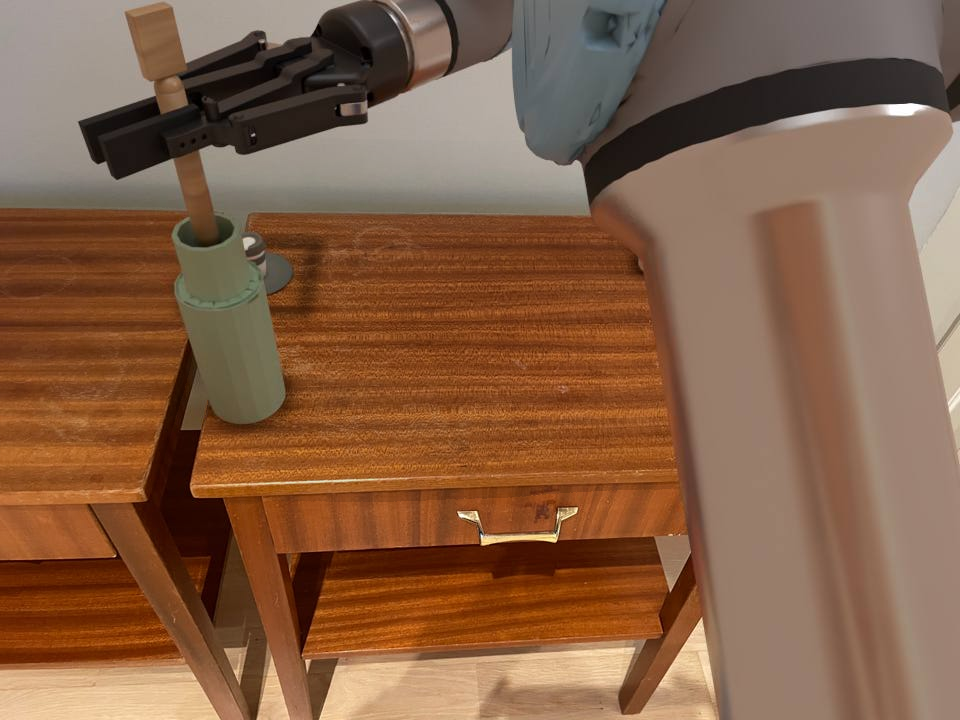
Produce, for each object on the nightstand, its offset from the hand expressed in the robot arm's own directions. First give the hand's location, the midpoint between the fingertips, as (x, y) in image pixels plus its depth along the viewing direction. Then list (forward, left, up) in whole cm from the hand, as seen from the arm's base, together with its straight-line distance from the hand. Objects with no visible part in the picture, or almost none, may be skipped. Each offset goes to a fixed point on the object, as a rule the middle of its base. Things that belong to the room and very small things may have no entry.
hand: (98, 150), depth 46 cm
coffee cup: (+19, +10, -28) cm, 35 cm away
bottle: (+5, -1, -28) cm, 28 cm away
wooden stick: (+5, -1, -13) cm, 15 cm away
